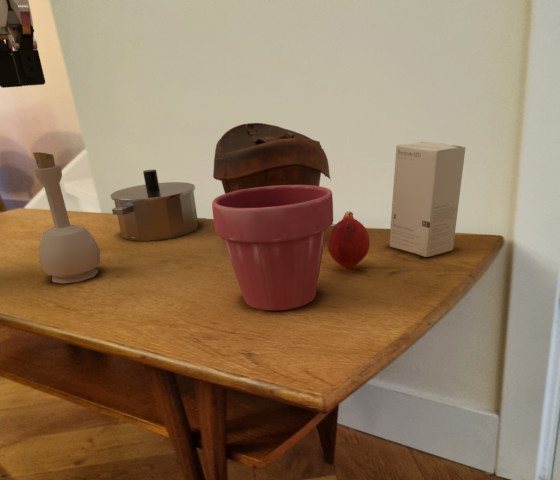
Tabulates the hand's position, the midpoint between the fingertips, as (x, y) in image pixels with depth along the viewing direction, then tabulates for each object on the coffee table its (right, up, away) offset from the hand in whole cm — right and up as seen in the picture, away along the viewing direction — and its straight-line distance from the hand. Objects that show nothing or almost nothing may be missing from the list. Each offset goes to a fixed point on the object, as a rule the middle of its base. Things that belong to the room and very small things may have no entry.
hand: (22, 86), depth 76 cm
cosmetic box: (+57, -21, +8) cm, 62 cm away
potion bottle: (+4, -25, +9) cm, 27 cm away
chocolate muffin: (+35, -17, +19) cm, 43 cm away
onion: (+45, -25, +2) cm, 52 cm away
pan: (+12, -12, +30) cm, 35 cm away
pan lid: (+12, -6, +27) cm, 30 cm away
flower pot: (+36, -30, -6) cm, 47 cm away
